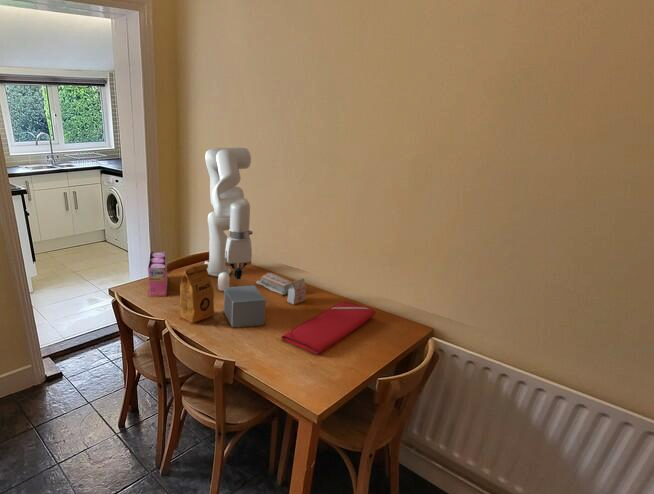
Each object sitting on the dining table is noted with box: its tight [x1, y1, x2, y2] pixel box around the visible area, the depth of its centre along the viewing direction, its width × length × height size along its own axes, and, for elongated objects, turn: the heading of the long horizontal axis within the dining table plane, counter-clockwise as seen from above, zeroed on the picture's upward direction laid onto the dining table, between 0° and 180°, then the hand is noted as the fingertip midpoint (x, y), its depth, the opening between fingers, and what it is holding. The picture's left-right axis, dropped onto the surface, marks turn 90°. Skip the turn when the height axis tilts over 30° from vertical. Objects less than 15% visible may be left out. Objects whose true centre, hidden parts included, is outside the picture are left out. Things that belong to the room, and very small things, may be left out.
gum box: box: [147, 251, 168, 297], centre depth 192 cm, size 24×8×14 cm, turn 2°
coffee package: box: [179, 263, 215, 324], centre depth 160 cm, size 10×12×22 cm
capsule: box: [217, 272, 231, 292], centre depth 189 cm, size 5×5×8 cm
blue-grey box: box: [223, 285, 267, 328], centre depth 161 cm, size 15×13×11 cm
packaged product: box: [255, 272, 292, 296], centre depth 190 cm, size 18×5×10 cm
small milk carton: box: [287, 277, 307, 305], centre depth 175 cm, size 4×7×10 cm, turn 124°
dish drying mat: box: [281, 301, 377, 355], centre depth 154 cm, size 16×41×4 cm, turn 132°
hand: (237, 278), depth 168 cm, fingers closed
